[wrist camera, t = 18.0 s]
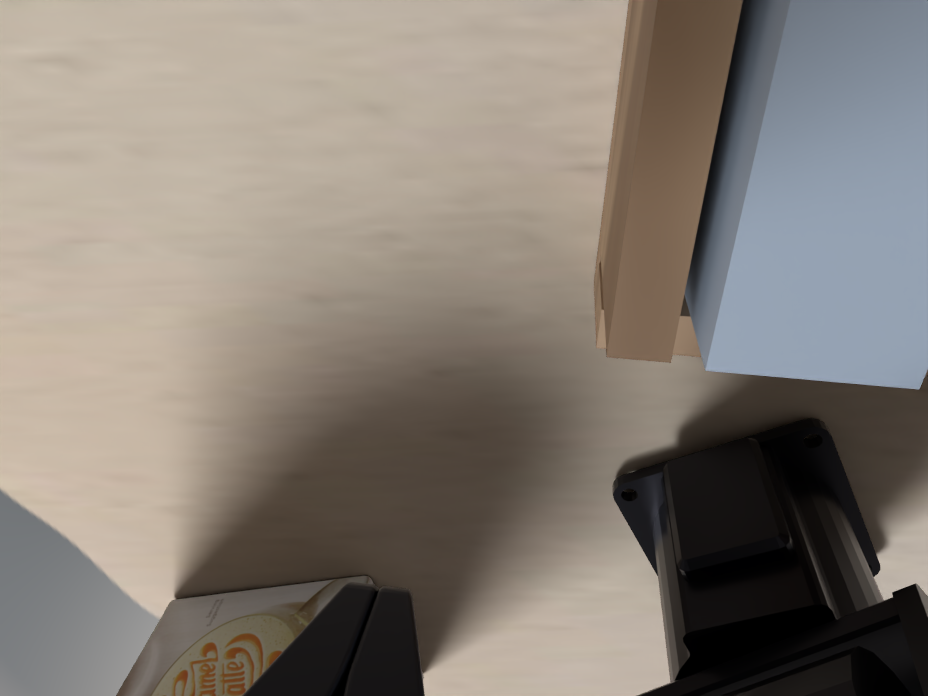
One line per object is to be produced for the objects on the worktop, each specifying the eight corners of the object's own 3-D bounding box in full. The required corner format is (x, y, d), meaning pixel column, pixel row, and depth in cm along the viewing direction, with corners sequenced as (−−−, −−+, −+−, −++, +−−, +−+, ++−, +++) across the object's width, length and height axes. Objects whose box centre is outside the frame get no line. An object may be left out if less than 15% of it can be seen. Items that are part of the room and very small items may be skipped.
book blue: (921, -97, 14) (1125, -102, 8) (819, 248, 17) (918, 389, 12) (729, -101, 14) (814, -108, 9) (669, 237, 18) (705, 371, 12)
